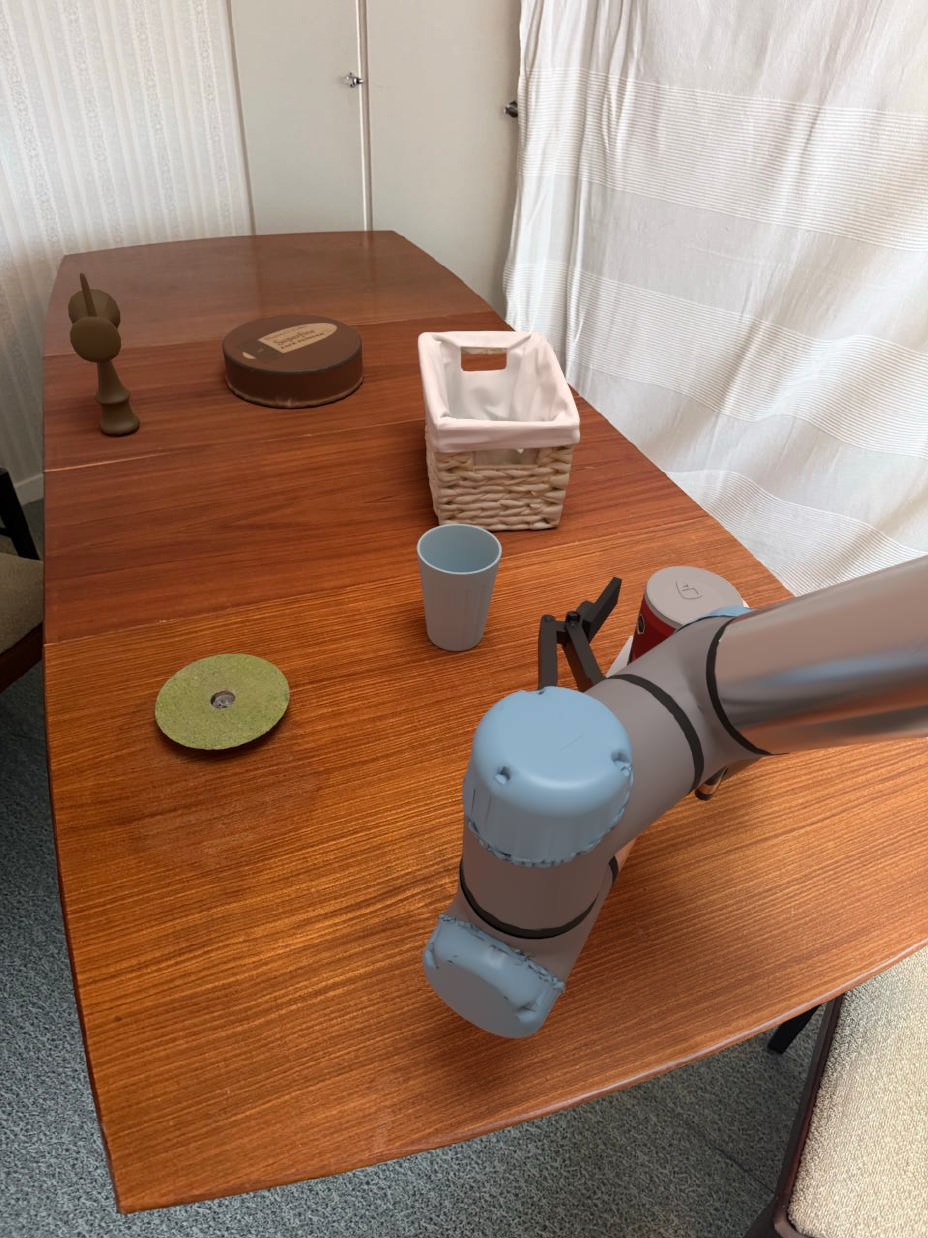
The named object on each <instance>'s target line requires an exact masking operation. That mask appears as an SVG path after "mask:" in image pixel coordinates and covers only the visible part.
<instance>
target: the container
mask: <svg viewBox="0 0 928 1238" xmlns="http://www.w3.org/2000/svg"><path fill="white" fill-rule="evenodd" d="M221 347H222V354H223V358H224V366H225V372H226V373H225V374H226V378H225V379H226V383H227V385H228V388H229V389H230V390H231V391H232V392H233V393H234V394H235V395H237V396H238V397H240V398H241V399H242V400H243V399H244V400H245V401H247V402H251V403H253V404H257V405H261V406H267V407H271V408H272V407H274V408H279V409H301V408H302V409H303V408H308V407H309V408H310V407H318V406H321V405H325V404H329V403H334V402H336V401H338V400H341V399H344V398H345V397H347V396H349V395H351V394H352V393H353V392H355V391H356V390H357V389H358V388H359V386H360V385H361V384H362V383H363V380H364V378H365V373H364V371H365V369H364V365H363V364H364V363H363V342H362V338H361V335H360V334H359V333H358V332H357V330H355V329H354V328H353V327H351V326H350V325H348V324H347V323H344V322H341V321H339V320H336V319H334V318H330V317H326V316H319V315H316V314H315V315H314V314H305V313H304V314H303V313H301V314H300V313H299V314H297V313H293V314H292V313H290V314H289V313H288V314H277V315H269V316H265V317H261V318H256V319H253V320H250V321H246V322H244V323H242V324H240V325H238V326H236V327H234V328H233V329H231V330H230V331H229V332H228V333H227V334H226V335H225V337H224V338H223V340H222V344H221Z"/></svg>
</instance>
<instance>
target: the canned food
mask: <svg viewBox="0 0 928 1238" xmlns="http://www.w3.org/2000/svg"><path fill="white" fill-rule="evenodd" d="M742 599H743V598H742V596H741V594H740V592H739V591H738V590H737V588H736V587H735V586H734V585H733V584H732V583H731V582H729V581H728V580H727V579H725V578H724V577H723V576H721V575H718V574H716V573H714V572H712V571H710V570H707V569H704V568H701V567H696V566H690V565H673V566H668V567H663V568H661V569H659V570H657V571H655V573H653V574H652V575H651V576H650V577H649V579H648V580H647V583H646V585H645V588H644V592H643V595H642V599H641V602H640V606H639V610H638V611H639V612H638V616H637V620H636V624H635V629H634V633H633V635H632V636H633V641H632V645H631V649H630V653H629V658H628V662H627V665H629V664H630V663H632V662H633V661H635V660H636V659H638V658H639V657H641V656H642V655H644V654H645V653H647V652H648V651H650V650H651V649H653V648H654V647H656V646H657V645H659V644H660V643H662V642H663V641H665V640H666V639H667V638H669V637H670V636H671V635H672V634H673V633H674V632H675V630H677V629H678V628H679V627H681V626H683V625H684V624H686V623H689V622H691V621H693V620H695V619H697V618H700V617H702V616H705V615H707V614H709V613H710V612H712V611H714V610H716V609H719V608H722V607H726V606H732V605H741V606H743V607H744V605H743V600H744V599H743V600H742Z"/></svg>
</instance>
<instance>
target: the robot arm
mask: <svg viewBox="0 0 928 1238" xmlns="http://www.w3.org/2000/svg"><path fill="white" fill-rule="evenodd" d="M622 582H623V578H620V577H618V576H615V575H614V576H613V577H612V578H611V579H610V581H609V582H608V584H607V585H606V586H605V587H604V589H603V590H602V592H601V593H600V595H599V596H598V597H597V599H596V600H595V602H592V601H590V600H587V599H585V600H583V601H582V602H581V603H580V604H579V606H577V608H576V609H575V610H569V611H567V612H566V614H565V618H564V620H557V618H556V617H555V616H554V615H552V614H543V615H542V616H541V617H540V622H539V628H538V629H539V631H538V636H537V688H536V690H531V691H527V690H525V689H520V690H518V691H515V692H512V693H510V694H508V695H506V696H505V697H503V698H501V699H500V700H498V701H496V702H495V703H494V704H493V705H491V707H490V708H489V709H488V710H487V711H486V712H485V713H484V714H483V716H482V718H481V719H480V721H479V722H478V724H477V726H476V728H475V731H474V734H473V737H472V742H471V748H470V749H471V750H470V755H469V760H468V763H467V767H466V771H465V773H464V776H463V780H462V791H461V792H462V793H461V802H462V806H463V828H462V848H461V849H462V851H461V857H460V859H459V864H458V876H457V877H458V878H457V889H456V892H455V895H454V897H453V900H452V901H451V903H450V904H449V905H448V907H447V908H446V910H445V911H444V912H443V913H440V914H439V915H438V917H437V923H436V924H435V927H434V929H433V931H432V933H431V934H430V937H429V938H428V940H427V942H426V944H425V946H424V948H423V951H422V955H421V966H422V969H423V970H422V971H423V974H424V976H425V978H426V980H427V982H428V983H429V985H430V987H431V988H432V990H433V992H435V994H436V995H437V996H438V998H439V999H441V1001H442V1002H443V1003H445V1004H446V1005H447V1007H448V1008H450V1009H451V1010H452V1011H454V1013H456V1014H457V1015H458V1016H460V1017H461V1018H463V1019H464V1020H466V1022H467V1021H468V1022H469V1023H471V1025H474V1026H476V1027H477V1028H479V1029H481V1030H483V1031H485V1032H487V1033H490V1034H493V1035H495V1036H498V1037H502V1038H507V1039H524V1038H528V1037H530V1036H533V1035H534V1034H536V1033H537V1032H538V1031H539V1030H541V1028H542V1027H543V1025H544V1024H545V1021H546V1020H547V1018H548V1017H549V1014H550V1013H551V1011H552V1010H553V1008H554V1006H555V1004H556V1002H557V1000H558V999H559V997H560V996H561V995H564V993H565V991H566V989H567V986H566V983H567V981H568V980H569V977H570V975H571V972H572V970H573V968H574V966H575V964H576V962H577V961H578V957H579V956H580V954H581V952H582V950H583V948H584V946H585V944H586V942H587V940H588V937H589V936H590V933H591V931H592V929H593V927H594V925H595V923H596V921H597V919H598V917H599V914H600V911H601V910H602V908H603V906H604V903H605V901H606V899H607V897H608V894H609V893H610V892H611V890H612V888H613V886H614V884H615V882H616V881H617V878H618V877H619V874H620V873H621V871H622V869H623V866H624V865H625V863H626V860H627V859H628V857H629V855H630V853H631V851H632V850H633V847H634V845H635V843H636V841H637V839H638V837H639V835H641V834H642V833H644V832H645V830H647V829H648V828H649V827H650V826H652V825H653V824H654V823H655V822H657V821H658V820H659V819H660V818H661V817H663V816H664V815H665V814H666V813H667V812H669V811H670V810H671V809H672V808H674V807H675V806H676V805H677V804H679V803H680V802H681V801H683V800H684V799H685V798H687V796H689V795H690V794H692V792H694V793H693V794H694V796H695V797H696V799H698V800H699V801H702V802H708V801H710V800H711V799H713V797H714V795H715V793H717V791H718V789H719V788H720V786H721V784H722V783H723V782H726V781H727V780H728V779H730V778H732V777H734V776H735V775H737V774H738V773H741V771H743V770H745V769H747V768H748V767H750V766H752V765H753V764H755V763H756V762H758V761H760V760H761V759H764V758H768V757H776V756H783V755H789V754H792V753H799V752H808V751H816V750H825V749H835V748H843V747H844V748H845V747H852V746H853V747H854V746H860V745H861V746H862V745H869V744H878V743H887V742H894V741H904V740H905V741H906V740H912V739H914V740H915V739H922V738H928V554H925V555H922V556H919V557H916V558H912V559H909V560H907V561H903V562H900V563H897V564H894V565H891V566H888V567H885V568H881V569H878V570H875V571H872V572H869V573H865V574H863V575H860V576H856V577H853V578H850V579H848V580H844V581H841V582H837V583H835V584H832V585H829V586H825V587H822V588H819V589H816V590H813V591H810V592H808V593H804V594H801V595H797V596H795V597H792V598H789V599H786V600H782V601H779V602H776V603H772V604H769V605H767V606H763V607H759V608H758V609H757V608H751V607H749V608H748V607H743V606H741V605H732V606H726V607H722V608H719V609H716V610H714V611H712V612H710V613H709V614H707V615H705V616H702V617H700V618H697V619H695V620H693V621H691V622H689V623H686V624H684V625H683V626H681V627H679V628H678V629H677V630H675V632H674V633H673V634H672V635H671V636H670V637H669V638H667V639H666V640H665V641H663V642H662V643H660V644H659V645H657V646H656V647H654V648H653V649H651V650H650V651H648V652H647V653H645V654H644V655H642V656H641V657H639V658H638V659H636V660H635V661H633V662H632V663H630V664H629V665H627V666H626V667H624V668H623V669H621V670H620V671H618V672H617V673H615V674H614V675H612V676H610V677H608V678H607V677H606V676H605V675H603V673H602V671H601V670H602V669H601V668H600V666H599V663H598V661H597V659H596V656H595V654H594V652H593V650H592V647H591V645H590V644H591V642H592V641H593V639H594V638H595V636H596V635H597V633H598V632H599V631H600V630H601V628H602V626H603V625H604V624H605V622H606V620H607V619H608V618H609V617H610V615H611V614H612V612H613V611H614V609H615V608H616V606H617V605H618V601H619V597H620V591H621V588H622V584H623V583H622ZM558 645H561V649H562V651H563V653H564V656H565V658H566V659H565V660H566V661H567V663H568V667H569V669H570V671H571V674H572V676H573V679H574V681H575V684H576V687H577V689H578V690H575V689H572V688H568V687H562V686H558V682H559V669H558Z"/></svg>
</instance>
